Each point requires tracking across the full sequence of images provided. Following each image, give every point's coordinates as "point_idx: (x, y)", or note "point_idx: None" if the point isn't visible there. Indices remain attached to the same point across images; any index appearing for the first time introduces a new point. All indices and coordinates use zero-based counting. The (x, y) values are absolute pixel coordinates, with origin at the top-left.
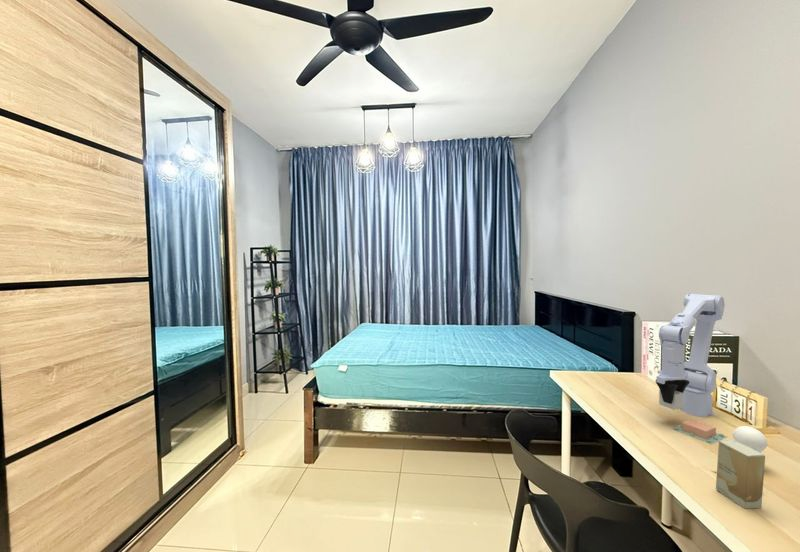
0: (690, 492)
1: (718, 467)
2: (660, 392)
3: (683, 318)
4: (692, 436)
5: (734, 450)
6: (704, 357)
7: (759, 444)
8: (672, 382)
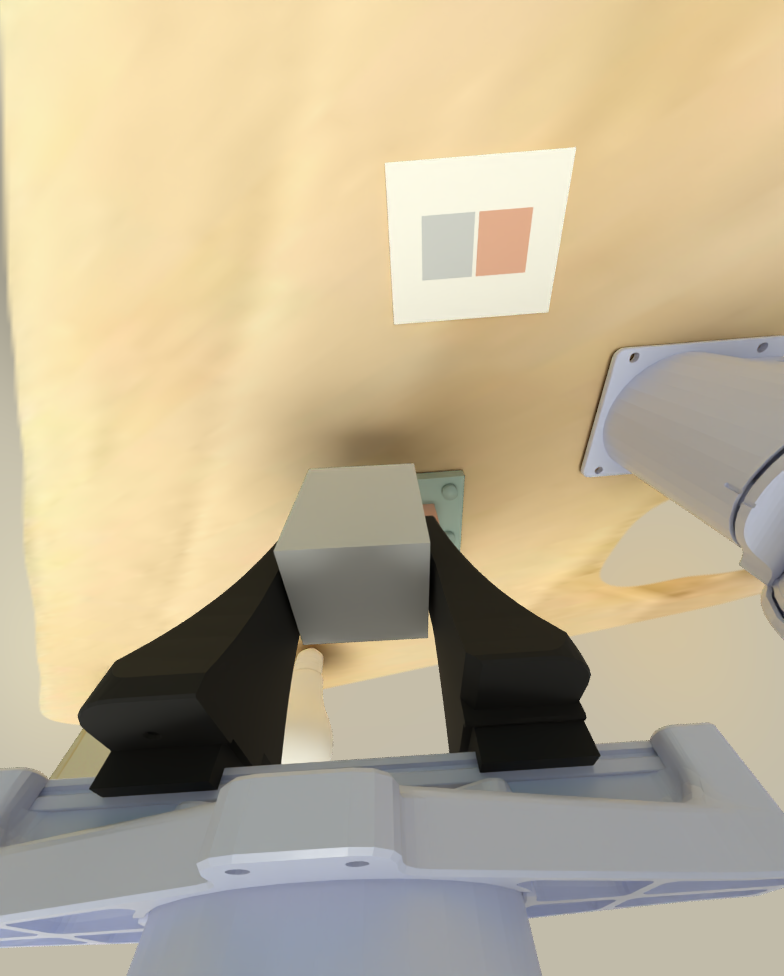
0: (46, 658)
1: (78, 736)
2: (284, 541)
3: None
4: None
5: None
6: None
7: None
8: (449, 657)
